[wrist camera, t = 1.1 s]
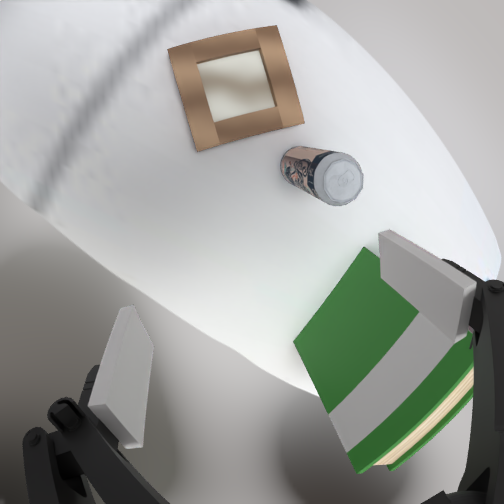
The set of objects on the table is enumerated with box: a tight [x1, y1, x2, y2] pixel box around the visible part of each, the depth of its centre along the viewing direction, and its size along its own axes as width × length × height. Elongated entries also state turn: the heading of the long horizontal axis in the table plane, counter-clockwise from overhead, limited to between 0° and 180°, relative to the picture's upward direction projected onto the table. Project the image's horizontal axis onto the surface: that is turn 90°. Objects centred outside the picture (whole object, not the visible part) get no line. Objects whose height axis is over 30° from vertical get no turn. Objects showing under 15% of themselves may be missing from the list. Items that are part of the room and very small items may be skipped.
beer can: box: [281, 146, 363, 206], centre depth 30 cm, size 5×5×12 cm
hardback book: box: [293, 247, 474, 474], centre depth 34 cm, size 18×7×24 cm, turn 147°
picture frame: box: [167, 25, 305, 152], centre depth 29 cm, size 12×12×3 cm
